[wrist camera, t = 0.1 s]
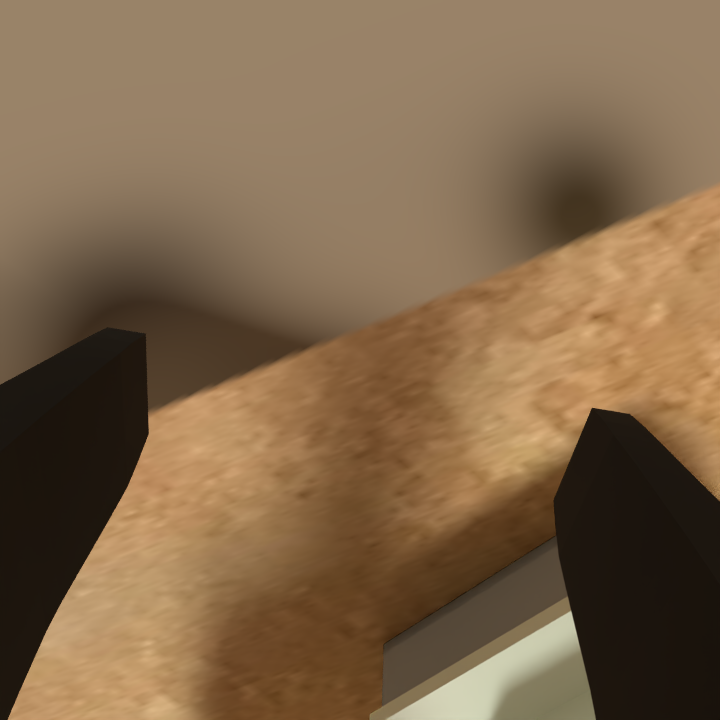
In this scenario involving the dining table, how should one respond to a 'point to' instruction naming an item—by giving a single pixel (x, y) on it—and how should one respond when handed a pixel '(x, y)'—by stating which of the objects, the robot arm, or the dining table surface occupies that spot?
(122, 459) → the robot arm
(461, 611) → the box
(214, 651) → the dining table surface
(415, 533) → the dining table surface
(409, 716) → the lid
